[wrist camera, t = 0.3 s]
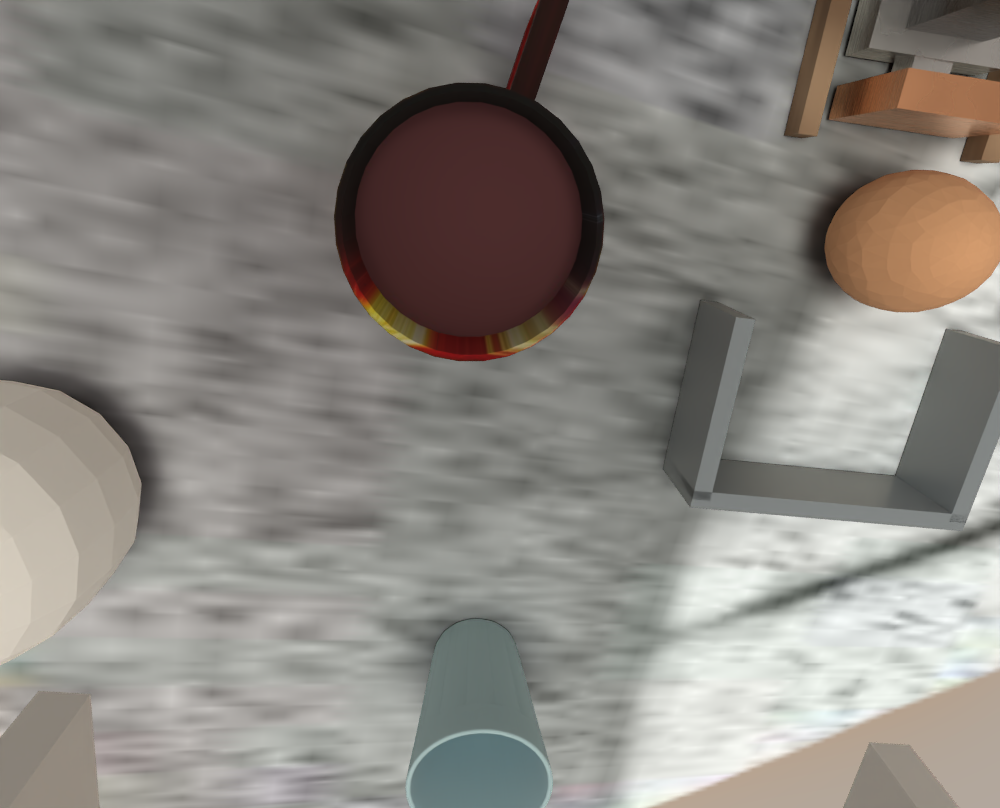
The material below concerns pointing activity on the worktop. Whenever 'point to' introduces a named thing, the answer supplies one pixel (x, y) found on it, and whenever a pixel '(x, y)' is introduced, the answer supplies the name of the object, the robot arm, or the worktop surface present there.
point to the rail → (819, 75)
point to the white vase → (58, 511)
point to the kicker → (925, 67)
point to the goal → (833, 493)
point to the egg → (913, 241)
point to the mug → (472, 213)
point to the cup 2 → (478, 727)
